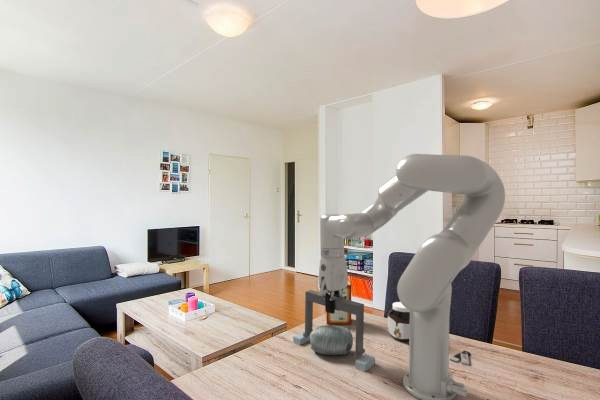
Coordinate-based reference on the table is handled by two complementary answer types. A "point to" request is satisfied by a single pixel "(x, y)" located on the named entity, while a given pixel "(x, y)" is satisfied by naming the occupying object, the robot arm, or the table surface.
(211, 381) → the table surface
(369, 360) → the pale blue block pair
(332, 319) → the baking soda box
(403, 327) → the spread jar
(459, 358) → the usb flash drive
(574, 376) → the table surface
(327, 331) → the gray yarn ball
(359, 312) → the gray arch frame
